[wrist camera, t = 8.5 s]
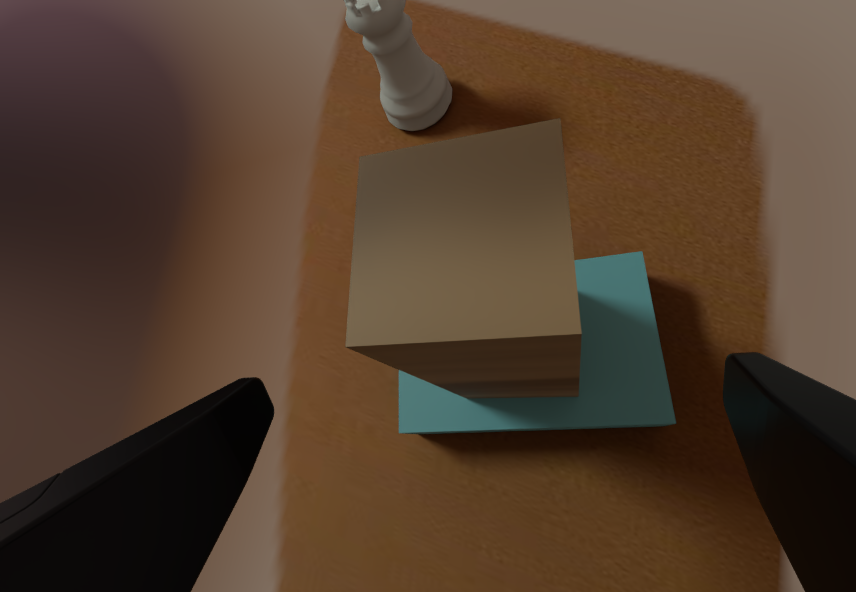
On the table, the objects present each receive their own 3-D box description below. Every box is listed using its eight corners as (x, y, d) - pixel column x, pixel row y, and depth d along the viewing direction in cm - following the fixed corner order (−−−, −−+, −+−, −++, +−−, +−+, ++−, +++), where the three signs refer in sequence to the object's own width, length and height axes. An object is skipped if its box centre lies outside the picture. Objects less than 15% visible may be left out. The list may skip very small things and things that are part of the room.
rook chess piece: (398, 77, 29) (340, -42, 22) (461, 75, 28) (421, -54, 21) (380, 135, 28) (313, 29, 21) (445, 136, 27) (396, 22, 20)
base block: (664, 426, 19) (676, 423, 16) (417, 434, 22) (398, 433, 19) (634, 272, 21) (641, 251, 19) (415, 299, 24) (398, 284, 22)
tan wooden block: (578, 396, 18) (581, 333, 8) (466, 398, 19) (345, 346, 9) (568, 288, 19) (560, 118, 9) (464, 297, 20) (359, 156, 10)
